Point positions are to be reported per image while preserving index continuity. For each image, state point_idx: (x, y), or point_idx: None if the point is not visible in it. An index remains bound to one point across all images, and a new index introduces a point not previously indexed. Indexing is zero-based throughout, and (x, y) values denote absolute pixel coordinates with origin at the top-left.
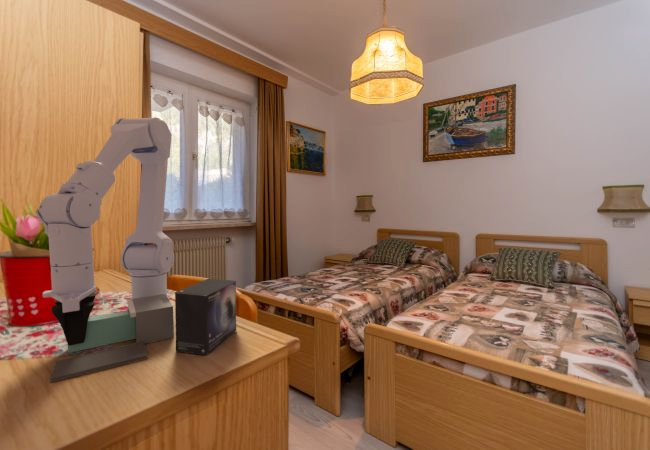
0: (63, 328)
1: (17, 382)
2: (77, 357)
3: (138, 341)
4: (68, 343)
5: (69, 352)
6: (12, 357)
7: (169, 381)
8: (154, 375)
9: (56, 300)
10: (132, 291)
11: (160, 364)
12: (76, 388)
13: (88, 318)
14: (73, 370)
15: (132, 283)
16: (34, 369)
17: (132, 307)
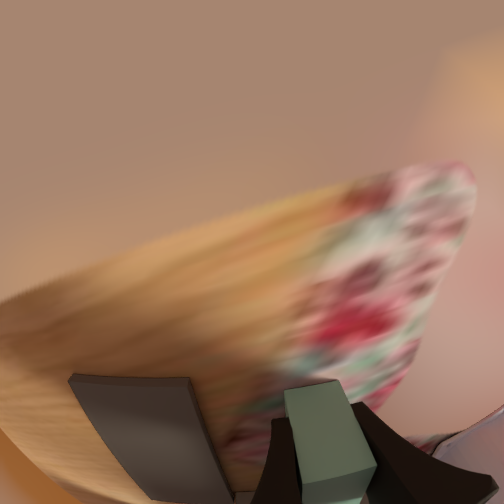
0: (259, 484)
1: (93, 296)
2: (188, 429)
3: (236, 501)
4: (273, 426)
5: (285, 392)
6: (363, 201)
7: (69, 481)
8: (86, 480)
9: (483, 501)
10: (493, 472)
11: (122, 494)
12: (50, 408)
13: (346, 502)
14: (101, 420)
15: (502, 488)
16: (177, 323)
17: None
